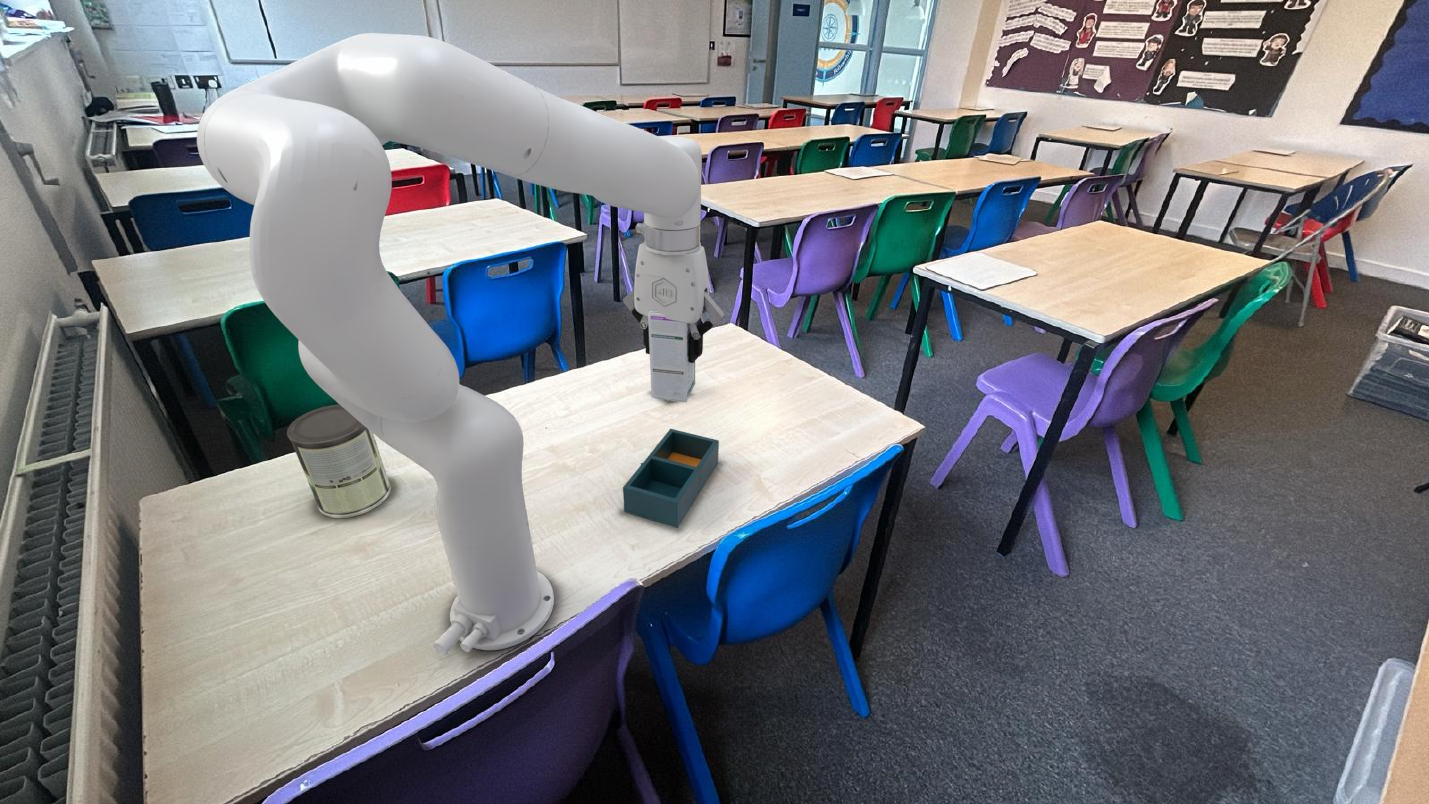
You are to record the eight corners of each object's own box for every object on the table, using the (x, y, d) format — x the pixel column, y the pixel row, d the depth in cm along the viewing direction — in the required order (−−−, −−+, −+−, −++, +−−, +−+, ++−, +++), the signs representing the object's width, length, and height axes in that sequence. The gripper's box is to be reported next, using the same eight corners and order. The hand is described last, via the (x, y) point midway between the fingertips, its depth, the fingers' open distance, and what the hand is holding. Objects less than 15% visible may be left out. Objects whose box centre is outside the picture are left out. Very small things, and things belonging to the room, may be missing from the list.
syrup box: (687, 403, 92) (688, 314, 84) (649, 398, 93) (647, 310, 85) (695, 385, 97) (697, 299, 89) (659, 380, 98) (658, 295, 90)
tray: (677, 528, 92) (677, 502, 89) (624, 512, 94) (622, 487, 92) (718, 463, 106) (719, 440, 103) (670, 451, 108) (670, 428, 106)
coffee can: (302, 505, 93) (270, 430, 86) (362, 469, 101) (337, 397, 94) (347, 527, 89) (318, 450, 82) (406, 488, 97) (383, 414, 90)
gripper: (602, 235, 81) (610, 354, 91) (723, 253, 76) (718, 377, 86) (628, 221, 87) (633, 334, 97) (741, 237, 82) (735, 355, 92)
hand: (673, 353), depth 91 cm, fingers closed on syrup box, 6 cm apart
